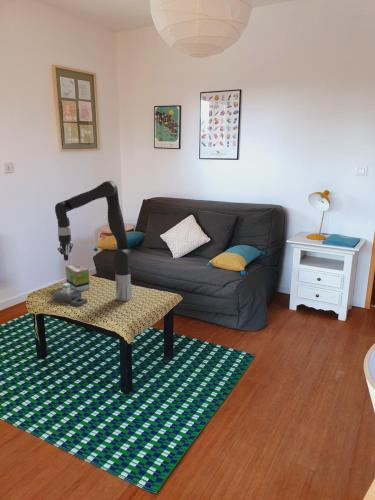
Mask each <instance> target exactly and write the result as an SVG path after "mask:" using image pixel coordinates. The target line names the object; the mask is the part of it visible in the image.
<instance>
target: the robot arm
mask: <svg viewBox="0 0 375 500" xmlns="http://www.w3.org/2000/svg"><path fill="white" fill-rule="evenodd" d="M104 198H106V202H107V203H106V204H107V222H108V227H109V230H110V232H111V234H112V236H113V237H114V239H115V241H116V244H117V250H115V252H114V253H113V269H114V272H115V296H116V297H115V299H116V300H117V301H119V302H128V301H130V300H131V299H132V298H133V289H132V288H133V285H132V283H131V269H130V268H129V261H130V260H131V259H132V251H131V247H130V245H129V244H130V243H129V241H128V237H127V231H126V227H125V221H124V216H123V213H122V209H121V205H120V200H119V199H120V198H119V191H118V186H117V184H116V182H114V181H113V180H106V181H103V182H102V183H100V184H99V185H97V186H96V187H95V188H92V189H90V190H89V191H85V192H82V193H80V194H77V195H75V196H72V197H70V198H69V199H65V200H63V201H60V202H59V201H58V202H57V203H56V204H55V207H54V214H55V216H56V219H57V236H58V242H59V247H57V250H58V252H59V253H60V255H63V260H64V261H65V262H66V261H67V262H68V261H69V254H70V253H71V252H72V249H73V247H74V244H73V243H71V241H72V234H71V233H72V231H71V225H70V224H71V223H70V221H71V220H70V218H69V217H68V212H70V211H72V210H75V209H78V208H81V207H83V206H85V205H87V204H90V203H91V202H93V201H97V200H99V199H104Z"/></svg>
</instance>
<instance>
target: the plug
mask: <svg viewBox="0 0 375 500" xmlns="http://www.w3.org/2000/svg"><path fill="white" fill-rule="evenodd" d="M61 288H63V292H65V293H69V292H70V289H71V288H70V284H68V283H67V282H66V283H65V282H64V283H62V286H61Z"/></svg>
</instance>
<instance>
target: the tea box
mask: <svg viewBox="0 0 375 500" xmlns="http://www.w3.org/2000/svg"><path fill="white" fill-rule="evenodd" d="M65 276H66V277H65V278H66V279H65V280H66V283H68V284H70V289H75V290H80V291H81V292H84V291H88V290H90V271H89V269H88V268H87V267H85V266H83V265H82V264H79V263H76V264H72V265H67V266H65Z"/></svg>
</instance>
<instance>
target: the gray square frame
mask: <svg viewBox="0 0 375 500" xmlns="http://www.w3.org/2000/svg"><path fill="white" fill-rule="evenodd" d="M87 303H88V299H87V298H83V297H82V298H76V299H74V300H73V301H71V303H70V306H71V305H72V306H76V307H82V306H84V305H85V304H87Z"/></svg>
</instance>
